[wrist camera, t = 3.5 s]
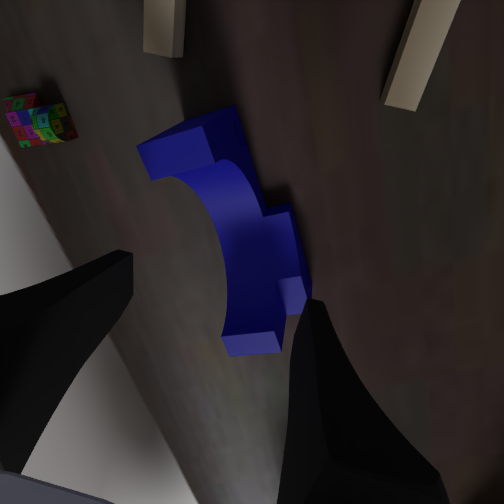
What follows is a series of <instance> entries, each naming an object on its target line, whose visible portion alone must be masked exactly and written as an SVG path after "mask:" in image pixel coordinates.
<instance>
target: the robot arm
mask: <svg viewBox="0 0 504 504" xmlns="http://www.w3.org/2000/svg"><path fill="white" fill-rule="evenodd" d="M132 296H133V253H130V252H126V251H122V250H116V251H113V252H111V253H108V254H106V255H104V256H102V257H100V258H97V259H95V260H93V261H91V262H89V263H87V264H84V265H82V266H80V267H78V268H75V269H73V270H71V271H69V272H66V273H64V274H61V275H59V276H56V277H54V278H51V279H49V280H46V281H44V282H41V283H39V284H36V285H33V286H30V287H27V288H24V289H21V290H18V291H14V292H11V293H8V294H4V295H0V504H114V503H112V502H109V501H107V500H104V499H101V498H98V497H94V496H91V495H88V494H84V493H81V492H78V491H74V490H71V489H68V488H64V487H61V486H57V485H54V484H51V483H48V482H44V481H41V480H37V479H34V478H31V477H28V476H24V475H21V472H22V470H23V468H24V466H25V464H26V462H27V460H28V459H29V457H30V455H31V453H32V451H33V449H34V447H35V445H36V443H37V442H38V440H39V438H40V436H41V434H42V433H43V431H44V429H45V427H46V425H47V423H48V422H49V420H50V418H51V416H52V415H53V413H54V411H55V410H56V408H57V406H58V405H59V403H60V401H61V399H62V398H63V396H64V394H65V393H66V391H67V389H68V388H69V386H70V385H71V383H72V382H73V380H74V378H75V377H76V375H77V374H78V372H79V370H80V369H81V368H82V366H83V365H84V363H85V362H86V361H87V359H88V358H89V357H90V355H91V354H92V353H93V352H94V350H95V349H96V348H97V346H98V345H99V344H100V343H101V341H102V340H103V339H104V337H105V336H106V335H107V334H108V332H109V331H110V330H111V328H112V327H113V326H114V324H115V323H116V322H117V321H118V319H119V318H120V317H121V315H122V313H123V312H124V310H125V308H126V307H127V305H128V303H129V301H130V300H131V298H132ZM277 504H450V502H449V498H448V495H447V492H446V489H445V487H444V484H443V481H442V479H441V476H440V473H439V472H438V471H437V470H436V469H435V468H434V467H433V466H432V465H431V464H430V463H429V462H428V461H427V460H426V459H425V458H424V457H423V456H422V455H421V454H420V453H419V452H418V451H417V450H416V449H415V448H414V447H413V446H412V445H411V444H410V443H409V441H408V440H407V439H406V438H405V437H404V436H403V435H402V434H401V432H400V431H399V430H398V429H397V428H396V427H395V426H394V424H393V423H392V422H391V421H390V420H389V418H388V417H387V416H386V415H385V413H384V412H383V411H382V410H381V408H380V407H379V406H378V404H377V403H376V402H375V400H374V399H373V398H372V396H371V395H370V394H369V392H368V391H367V389H366V388H365V386H364V385H363V383H362V381H361V380H360V378H359V377H358V375H357V373H356V372H355V370H354V368H353V366H352V365H351V363H350V361H349V359H348V357H347V355H346V353H345V351H344V349H343V347H342V345H341V343H340V341H339V339H338V337H337V334H336V332H335V330H334V327H333V325H332V322H331V320H330V317H329V315H328V312H327V309H326V306H325V304H324V302H323V301H319V300H315V299H311V298H307V299H306V302H305V305H304V308H303V311H302V314H301V317H300V320H299V323H298V326H297V329H296V332H295V334H294V339H293V345H292V351H291V358H290V378H289V409H288V426H287V435H286V442H285V450H284V458H283V465H282V472H281V479H280V486H279V493H278V499H277Z"/></svg>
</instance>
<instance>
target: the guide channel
mask: <svg viewBox="0 0 504 504" xmlns="http://www.w3.org/2000/svg"><path fill="white" fill-rule="evenodd" d="M186 1H187V0H144V39H143V52H147V53H151V54H156V55H161V56H165V57H170V58H179V57H183V49H184V33H185V17H186ZM459 3H460V0H415V1H414V3H413V6H412V9H411V12H410V15H409V18H408V21H407V24H406V26H405V29H404V32H403V35H402V38H401V41H400V44H399V46H398V49H397V52H396V55H395V58H394V61H393V64H392V67H391V69H390V72H389V75H388V78H387V81H386V84H385V87H384V89H383V92H382V95H381V98H380V101H381V102H382V103H383V104H384V105H389V106H394V107H398V108H403V109H407V110H412V111H416V109H417V106H418V104H419V101H420V99H421V96H422V94H423V91H424V89H425V86H426V84H427V81H428V79H429V77H430V74H431V72H432V69H433V67H434V64H435V62H436V59H437V57H438V54H439V52H440V49H441V47H442V45H443V42H444V40H445V37H446V35H447V32H448V30H449V27H450V25H451V22H452V20H453V17H454V15H455V13H456V10H457V8H458V5H459Z"/></svg>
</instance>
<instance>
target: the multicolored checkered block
mask: <svg viewBox="0 0 504 504" xmlns="http://www.w3.org/2000/svg"><path fill="white" fill-rule="evenodd" d="M2 100H3V103H4V105H5V107H6V109H7V111H8V112H7V113H6V115H7V118H8V120H9V122H10V124H11V126H12V128H13V130H14V133H15V135H16V137H17V139H18V141H19V143H20V145H21V147H28V146H35V145H43V144H50V143H57V142H65V141H70V140H72V139H75V138H78V134H77V132H76V129H75V127H74V124H73V121H72V119H71V116H70V113H69V111H68V108H67V106H66V103H59V104H53V105H47V106H41V103H40V101H39V99H38V96H37V94H36V93H30V94H24V95H18V96H12V97H7V98H2Z"/></svg>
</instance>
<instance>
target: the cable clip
mask: <svg viewBox="0 0 504 504" xmlns="http://www.w3.org/2000/svg"><path fill="white" fill-rule="evenodd" d="M136 147H137V149H138V152H139V154H140V156H141V158H142V161H143V163H144V165H145V167H146V170H147V172H148V174H149V176H150V179H151V181H152V180H156V179H159V178H163V177H167V176H174V177H177V178H179V179H181V180H182V181H184V182H185V183H187V184H188V185H189V186H190V187H191V188H192V189H193V190H194V191H195V192H196V194H197V195H198V196H199V197H200V199H201V200H202V202H203V203H204V205H205V207H206V209H207V210H208V212H209V214H210V216H211V219H212V221H213V223H214V226H215V228H216V231H217V234H218V237H219V240H220V244H221V247H222V252H223V256H224V261H225V268H226V276H227V311H226V318H225V324H224V328H223V332H222V335H221V338H222V340H223V342H224V345H225V347H226V349H227V351H228V354H229V356H242V355H253V354H265V353H277V352H281V351H282V344H283V337H284V330H285V323H286V316H287V315H294V314H302V311H303V308H304V305H305V302H306V299H307V298H311V299H312V282H311V278H310V275H309V271H308V267H307V263H306V259H305V256H304V252H303V248H302V244H301V241H300V237H299V233H298V229H297V225H296V222H295V218H294V214H293V210H292V206H291V203H288V204H283V205H278V206H274V207H269V208H266V206H265V202H264V199H263V196H262V192H261V189H260V186H259V182H258V179H257V176H256V172H255V169H254V166H253V162H252V159H251V156H250V152H249V149H248V146H247V142H246V139H245V136H244V132H243V129H242V126H241V122H240V119H239V116H238V113H237V109H236V106H235V105H232V106H229V107H226V108H223V109H220V110H217V111H213V112H210V113H207V114H204V115H201V116H198V117H195V118H191V119H188V120H185V121H183V122H181V123H179V124H177V125H175V126H173V127H172V128H170V129H168V130H166V131H164V132H162V133H160V134H158V135H156V136H154V137H152V138H150V139H149V140H147V141H145V142H143V143H141V144H139V145H137V146H136Z"/></svg>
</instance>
